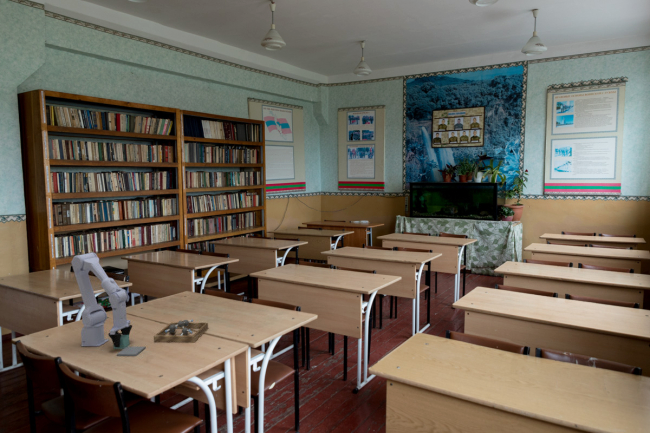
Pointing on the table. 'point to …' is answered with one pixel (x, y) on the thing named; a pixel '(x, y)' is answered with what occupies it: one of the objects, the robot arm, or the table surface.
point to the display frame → (161, 338)
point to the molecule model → (180, 324)
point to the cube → (123, 342)
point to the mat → (131, 351)
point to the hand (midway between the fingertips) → (121, 343)
